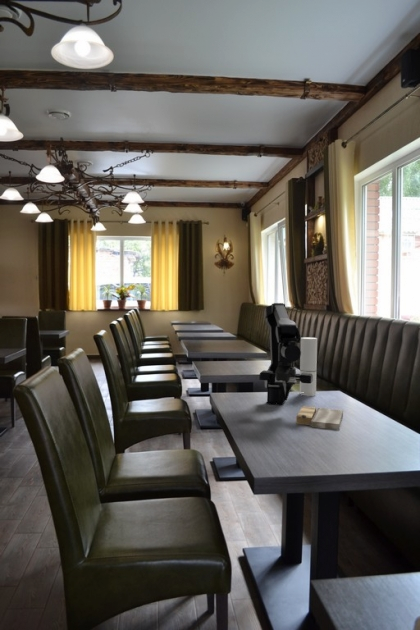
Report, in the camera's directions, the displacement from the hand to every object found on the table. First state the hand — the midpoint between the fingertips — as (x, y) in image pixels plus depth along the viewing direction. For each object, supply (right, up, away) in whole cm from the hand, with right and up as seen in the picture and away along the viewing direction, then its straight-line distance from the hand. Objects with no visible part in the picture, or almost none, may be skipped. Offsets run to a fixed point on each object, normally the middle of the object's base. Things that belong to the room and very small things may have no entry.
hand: (285, 400), depth 172 cm
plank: (+7, -6, -5) cm, 10 cm away
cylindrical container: (+16, -4, +37) cm, 40 cm away
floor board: (+14, -6, -7) cm, 16 cm away
